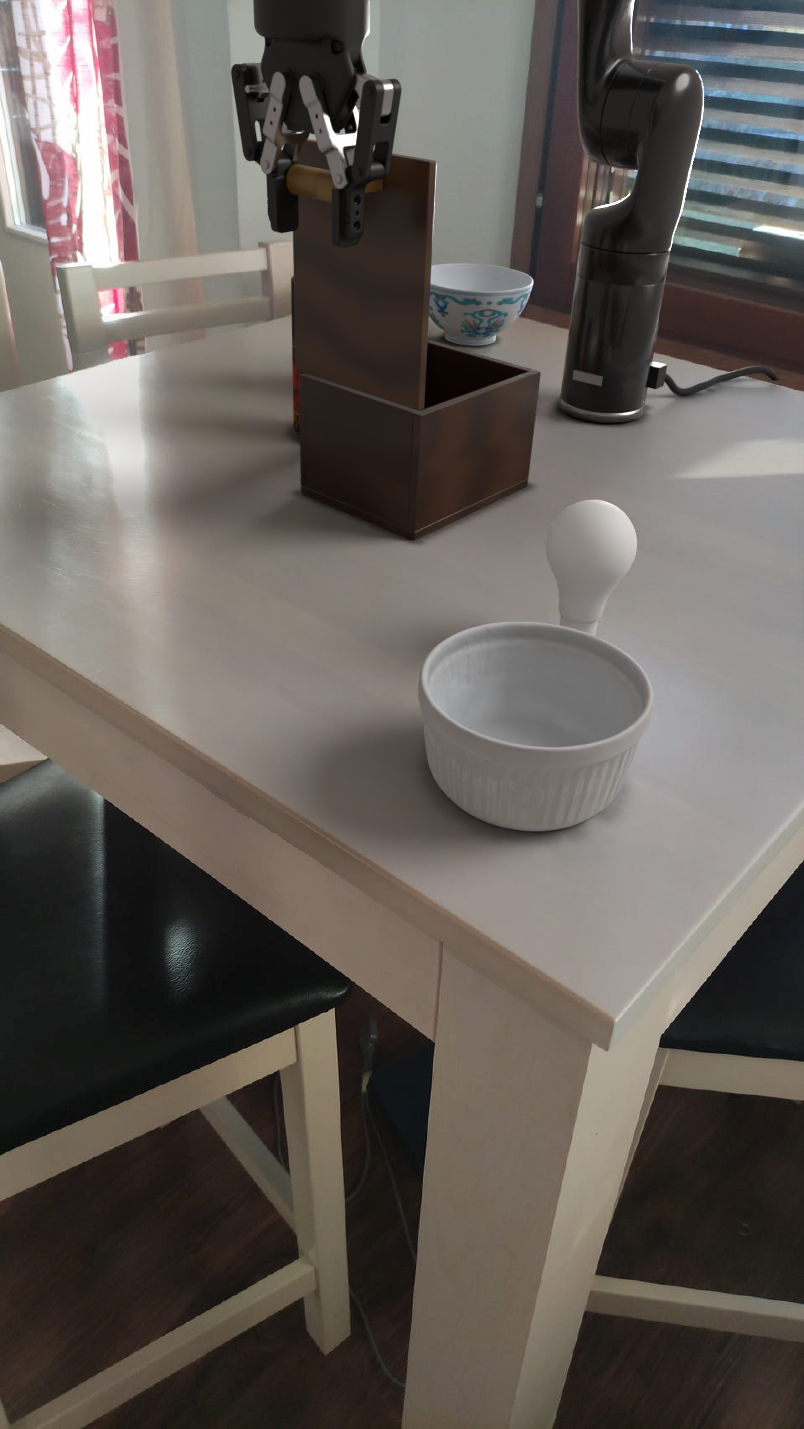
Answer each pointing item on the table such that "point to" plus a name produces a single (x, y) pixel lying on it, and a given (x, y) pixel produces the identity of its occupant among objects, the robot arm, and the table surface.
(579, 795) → the ramekin
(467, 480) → the chest
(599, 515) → the lightbulb
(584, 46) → the robot arm
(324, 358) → the lid
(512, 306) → the chinaware
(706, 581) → the table surface
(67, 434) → the table surface
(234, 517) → the table surface
